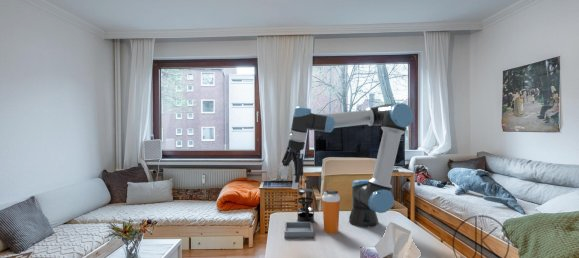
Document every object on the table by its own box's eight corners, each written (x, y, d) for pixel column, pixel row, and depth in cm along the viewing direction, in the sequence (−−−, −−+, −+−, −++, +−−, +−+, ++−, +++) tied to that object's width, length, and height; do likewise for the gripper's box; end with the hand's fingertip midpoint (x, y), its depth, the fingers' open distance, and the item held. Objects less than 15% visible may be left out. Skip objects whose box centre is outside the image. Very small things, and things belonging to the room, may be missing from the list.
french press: (316, 223, 159) (316, 180, 158) (298, 224, 157) (298, 181, 157) (311, 216, 170) (311, 176, 170) (295, 217, 169) (295, 177, 168)
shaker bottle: (339, 234, 143) (339, 193, 142) (321, 233, 145) (321, 192, 144) (340, 228, 152) (340, 189, 151) (322, 227, 153) (322, 188, 153)
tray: (311, 227, 153) (311, 221, 153) (313, 238, 139) (313, 231, 139) (285, 227, 153) (284, 221, 153) (284, 238, 139) (284, 231, 139)
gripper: (280, 133, 148) (272, 174, 151) (301, 145, 125) (291, 193, 128) (293, 135, 151) (286, 175, 154) (316, 147, 128) (307, 193, 131)
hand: (288, 183), depth 141 cm, fingers open, 13 cm apart
